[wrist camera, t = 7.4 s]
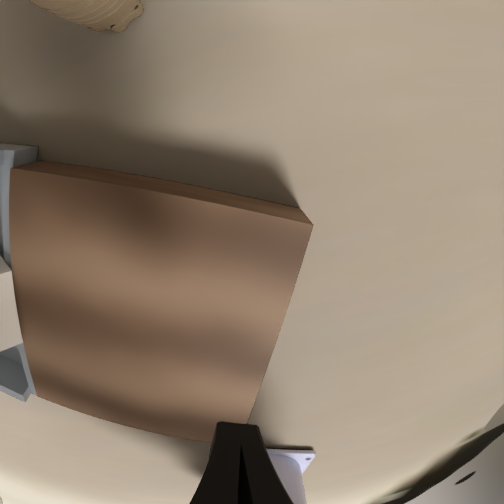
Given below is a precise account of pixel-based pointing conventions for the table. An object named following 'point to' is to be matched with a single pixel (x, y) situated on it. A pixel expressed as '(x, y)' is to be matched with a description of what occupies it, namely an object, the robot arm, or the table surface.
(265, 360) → the walnut board
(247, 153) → the table surface
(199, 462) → the table surface
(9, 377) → the box
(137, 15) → the handle
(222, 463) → the robot arm
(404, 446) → the table surface
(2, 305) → the cream tile
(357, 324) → the table surface
